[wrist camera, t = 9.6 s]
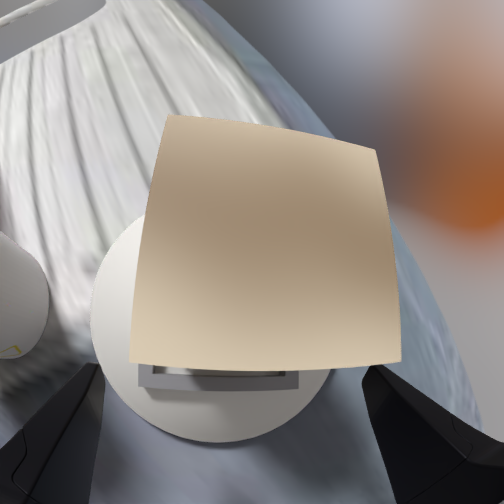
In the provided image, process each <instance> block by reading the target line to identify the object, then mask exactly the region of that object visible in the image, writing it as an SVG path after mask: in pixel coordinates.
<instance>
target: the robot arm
mask: <svg viewBox="0 0 504 504" xmlns="http://www.w3.org/2000/svg"><path fill="white" fill-rule="evenodd" d="M362 389H363V393H364V397H365V401H366V406H367V410H368V414H369V418H370V422H371V425H372V428H373V431H374V434H375V437H376V440H377V443H378V446H379V449H380V452H381V455H382V458H383V461H384V464H385V467H386V470H387V474H388V477H389V480H390V483H391V487H392V490H393V493H394V497H395V500H396V503H397V504H504V443H503V442H499V441H497V440H495V439H493V438H491V437H489V436H487V435H486V434H484V433H482V432H480V431H478V430H477V429H475V428H473V427H471V426H470V425H468V424H466V423H465V422H463V421H462V420H460V419H459V418H457V417H456V416H455V415H453V414H451V413H450V412H449V411H447V410H446V409H444V408H443V407H442V406H440V405H439V404H437V403H436V402H434V401H433V400H432V399H430V398H429V397H427V396H426V395H424V394H423V393H422V392H420V391H419V390H417V389H416V388H415V387H413V386H412V385H410V384H409V383H407V382H406V381H405V380H403V379H402V378H400V377H399V376H398V375H396V374H395V373H393V372H392V371H391V370H389V369H388V368H386V367H385V366H384V365H382V364H378V365H371V366H370V367H369V368H368V370H367V372H366V374H365V376H364V378H363V379H362ZM104 393H105V378H104V375H103V372H102V368H101V365H100V364H99V363H95V362H87V363H86V364H84V365H83V366H82V367H81V368H80V369H79V370H78V371H77V372H76V373H75V374H74V375H73V376H72V377H71V378H70V379H69V380H68V381H67V382H66V383H65V384H64V385H63V386H62V387H61V388H60V389H59V390H58V391H57V392H56V393H55V394H54V395H53V396H52V397H51V398H50V399H49V400H48V401H47V402H46V403H45V404H44V405H43V406H42V407H41V408H40V409H39V411H38V412H37V413H36V414H35V415H34V416H33V417H32V418H31V419H30V420H29V421H28V422H27V423H26V424H25V425H24V426H23V427H22V429H20V430H19V431H18V432H17V433H16V434H15V435H14V436H13V437H12V438H11V439H10V440H9V441H8V442H7V443H6V444H5V445H4V446H3V447H2V448H1V449H0V504H89V496H90V489H91V482H92V475H93V469H94V462H95V457H96V451H97V446H98V441H99V435H100V430H101V423H102V412H103V402H104Z"/></svg>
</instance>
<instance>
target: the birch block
mask: <svg viewBox="0 0 504 504" xmlns="http://www.w3.org/2000/svg"><path fill="white" fill-rule="evenodd" d="M129 362H130V363H138V364H147V365H156V366H166V367H178V368H191V369H207V370H232V371H294V370H318V369H334V368H348V367H359V366H369V365H378V364H386V363H394V362H401V328H400V308H399V294H398V283H397V273H396V263H395V255H394V247H393V240H392V233H391V227H390V220H389V214H388V209H387V203H386V198H385V193H384V188H383V183H382V179H381V173H380V169H379V165H378V160H377V156H376V152H375V150H374V149H370V148H366V147H363V146H359V145H355V144H351V143H348V142H344V141H339V140H335V139H331V138H327V137H322V136H318V135H313V134H309V133H304V132H299V131H294V130H288V129H283V128H277V127H272V126H266V125H259V124H253V123H246V122H239V121H231V120H223V119H214V118H205V117H194V116H182V115H168V116H167V120H166V124H165V127H164V131H163V135H162V139H161V143H160V147H159V151H158V155H157V160H156V164H155V168H154V173H153V177H152V182H151V187H150V192H149V197H148V202H147V207H146V213H145V218H144V224H143V230H142V236H141V243H140V249H139V256H138V264H137V271H136V279H135V288H134V297H133V308H132V319H131V332H130V348H129Z"/></svg>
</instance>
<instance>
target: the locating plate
mask: <svg viewBox="0 0 504 504" xmlns="http://www.w3.org/2000/svg"><path fill="white" fill-rule="evenodd" d="M144 218H145V214H144V215H143V216H141V217H140V218H139V219H137V220H136V221H135V222H133V223H132V224H131V225H130V226H129V227H128V228H127V229H126V230H125V231H124V232H123V233H122V234H121V235H120V236H119V237H118V239H117V240H116V241H115V242H114V243H113V245H112V246H111V248H110V250H109V251H108V253H107V254H106V256H105V258H104V260H103V262H102V264H101V266H100V268H99V270H98V273H97V276H96V279H95V283H94V286H93V291H92V297H91V303H90V327H91V335H92V341H93V345H94V349H95V352H96V356H97V358H98V361H99V363H100V365H101V368H102V370H103V372H104V374H105V376H106V377H107V379H108V381H109V383H110V384H111V386H112V387H113V389H114V390H115V391H116V392H117V394H118V395H119V396H120V397H121V399H122V400H123V401H124V402H125V403H126V404H127V405H128V406H129V407H130V408H131V409H132V410H133V411H134V412H136V413H137V414H138V415H140V416H141V417H142V418H144V419H145V420H146V421H148V422H149V423H151V424H153V425H155V426H156V427H158V428H160V429H162V430H164V431H166V432H169V433H171V434H174V435H177V436H180V437H183V438H187V439H191V440H196V441H202V442H217V443H219V442H233V441H240V440H244V439H249V438H253V437H256V436H259V435H262V434H264V433H267V432H269V431H271V430H273V429H275V428H277V427H279V426H281V425H283V424H284V423H286V422H287V421H289V420H290V419H291V418H293V417H294V416H295V415H297V414H298V413H299V412H300V411H301V410H302V409H303V408H304V407H305V406H306V405H307V404H309V402H310V401H311V400H312V399H313V398H314V396H315V395H316V394H317V392H318V391H319V390H320V388H321V387H322V385H323V383H324V382H325V380H326V378H327V377H328V374H329V372H330V370H331V369H318V370H294V371H232V370H207V369H191V368H178V367H166V366H156V365H147V364H138V363H130V362H129V348H130V332H131V319H132V308H133V297H134V288H135V279H136V271H137V264H138V256H139V249H140V243H141V236H142V230H143V224H144Z"/></svg>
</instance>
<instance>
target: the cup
mask: <svg viewBox="0 0 504 504" xmlns="http://www.w3.org/2000/svg"><path fill="white" fill-rule="evenodd" d="M48 312H49V290H48V284H47V280H46V277H45V274H44V272H43V270H42V268H41V266H40V264H39V263H38V261H37V260H36V259H35V258H34V257H33V256H32V255H31V254H30V253H28V252H27V251H26V250H24V249H23V248H22V247H20V246H19V245H18V244H16V243H15V242H14V241H12V240H11V239H10V238H9V237H7V236H6V235H5V234H3V233H2V232H1V231H0V358H3V359H13V358H18V357H21V356H23V355H25V354H26V353H28V352H29V351H30V350H31V349H32V348H33V347H34V346H35V345H36V344H37V342H38V341H39V339H40V337H41V336H42V333H43V331H44V328H45V326H46V322H47V318H48Z"/></svg>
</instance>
